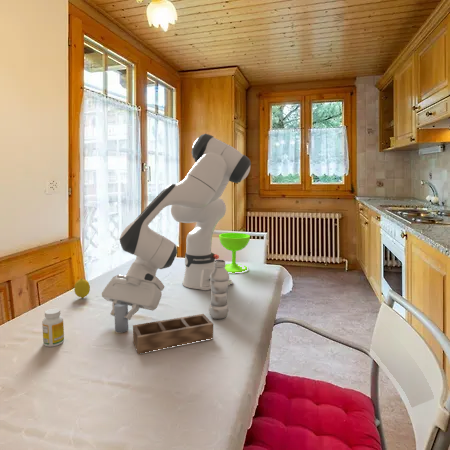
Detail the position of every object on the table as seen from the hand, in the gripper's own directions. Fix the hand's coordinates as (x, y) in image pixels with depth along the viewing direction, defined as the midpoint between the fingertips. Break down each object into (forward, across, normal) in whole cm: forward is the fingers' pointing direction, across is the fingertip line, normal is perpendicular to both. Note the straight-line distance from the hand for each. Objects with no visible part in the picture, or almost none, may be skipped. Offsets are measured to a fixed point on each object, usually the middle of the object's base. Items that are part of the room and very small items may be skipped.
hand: (119, 317), depth 105 cm
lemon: (-7, -32, +14) cm, 35 cm away
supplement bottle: (+13, -12, -7) cm, 19 cm away
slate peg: (+3, 0, +4) cm, 4 cm away
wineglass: (-53, +5, +60) cm, 80 cm away
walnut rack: (+2, +18, +4) cm, 19 cm away
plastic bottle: (-13, +23, +19) cm, 33 cm away
